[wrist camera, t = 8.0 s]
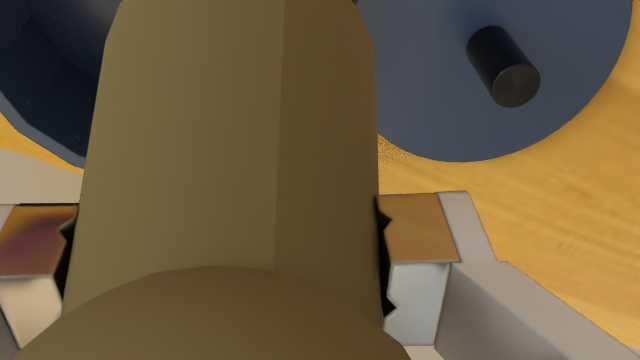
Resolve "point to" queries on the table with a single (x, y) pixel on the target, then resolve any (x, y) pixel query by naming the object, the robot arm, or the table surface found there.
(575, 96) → the pot lid
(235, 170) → the brown pawn piece
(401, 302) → the robot arm
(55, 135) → the pot
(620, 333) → the table surface
